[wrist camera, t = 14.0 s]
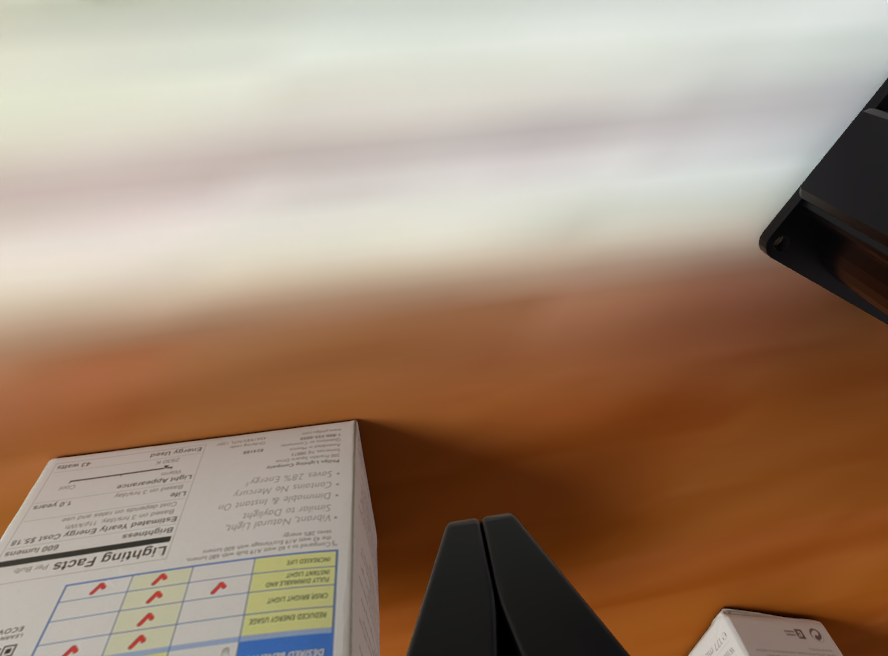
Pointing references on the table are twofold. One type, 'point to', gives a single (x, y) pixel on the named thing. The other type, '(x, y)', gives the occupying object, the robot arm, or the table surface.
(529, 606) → the robot arm
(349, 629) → the light bulb box
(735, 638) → the skincare box
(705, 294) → the table surface
